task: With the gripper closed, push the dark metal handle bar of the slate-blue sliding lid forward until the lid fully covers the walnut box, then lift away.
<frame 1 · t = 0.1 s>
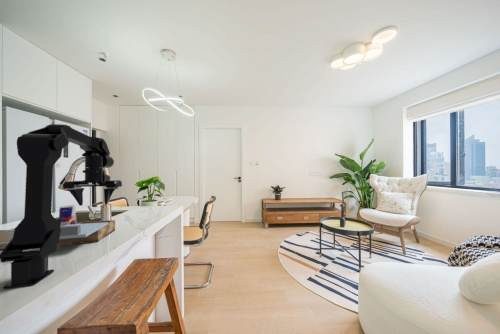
hand: (93, 204, 76), 15 cm above the counter, tool pointing down, fingers open, 9 cm apart
lid: (75, 226, 71), point 7 cm above the counter, slide at -8.0 cm
box: (88, 237, 79), on the counter
energy drink: (67, 232, 86), on the counter
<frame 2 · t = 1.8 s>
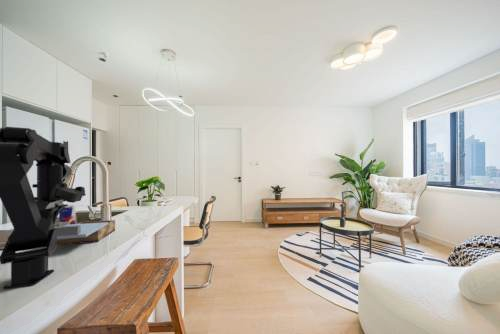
hand: (49, 228, 60), 10 cm above the counter, tool pointing down, fingers closed
nothing on the counter moved.
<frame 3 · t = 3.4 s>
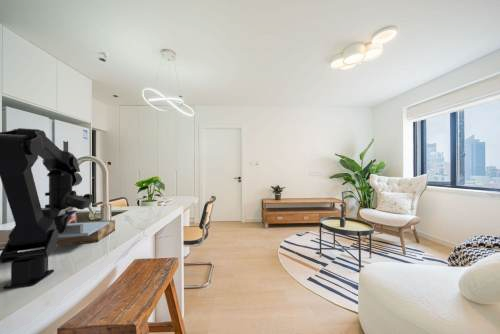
hand: (60, 233, 64), 7 cm above the counter, tool pointing down, fingers closed
lid: (78, 225, 73), point 7 cm above the counter, slide at -6.6 cm, touching gripper
everything else where it was.
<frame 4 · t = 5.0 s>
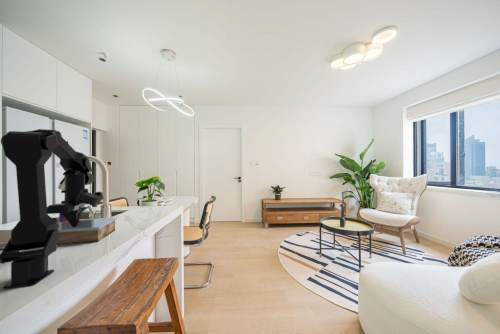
hand: (74, 226, 71), 7 cm above the counter, tool pointing down, fingers closed
lid: (88, 220, 79), point 7 cm above the counter, slide at 0.1 cm, touching gripper
everything else where it was.
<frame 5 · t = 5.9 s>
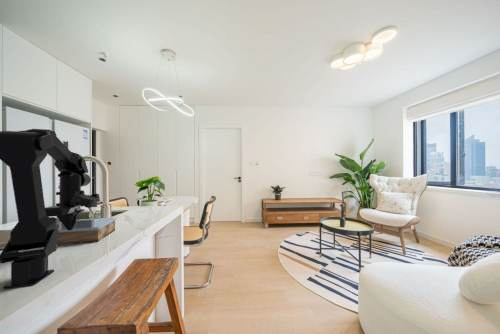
hand: (70, 230, 68), 7 cm above the counter, tool pointing down, fingers closed
lid: (88, 220, 79), point 7 cm above the counter, slide at 0.0 cm
everything else where it was.
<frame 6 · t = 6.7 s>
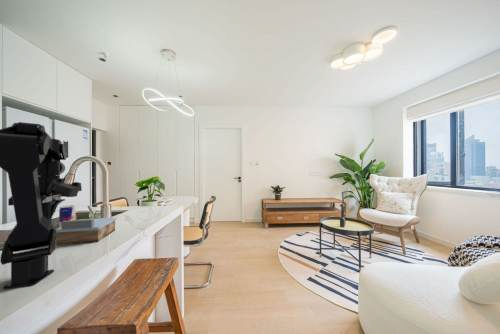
hand: (47, 221, 62), 12 cm above the counter, tool pointing down, fingers closed
nothing on the counter moved.
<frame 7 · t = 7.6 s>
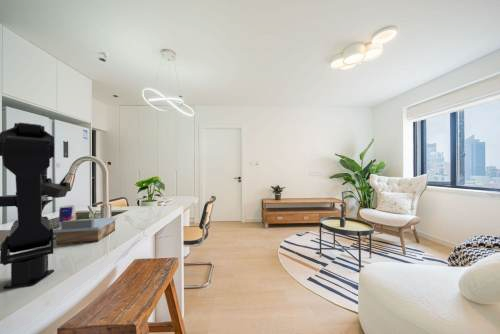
hand: (34, 223, 60), 12 cm above the counter, tool pointing down, fingers closed
nothing on the counter moved.
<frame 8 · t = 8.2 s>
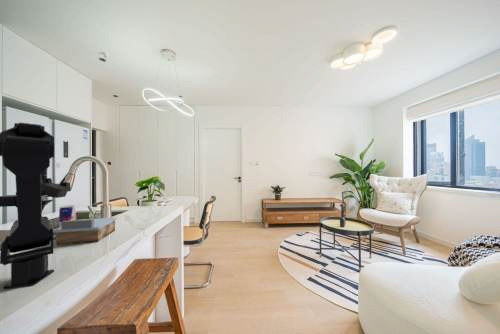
hand: (34, 223, 60), 12 cm above the counter, tool pointing down, fingers closed
nothing on the counter moved.
at the end: lid slide at 0.0 cm; energy drink moved 0.2 cm from its start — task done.
